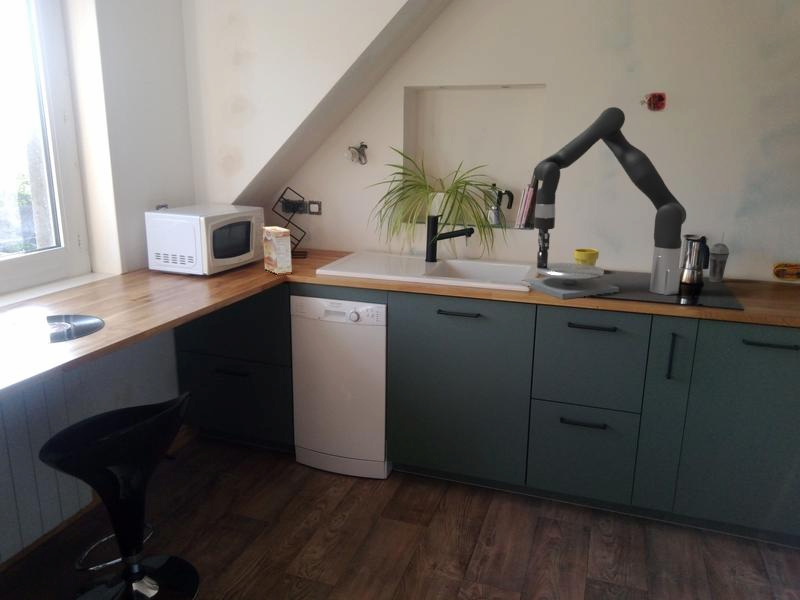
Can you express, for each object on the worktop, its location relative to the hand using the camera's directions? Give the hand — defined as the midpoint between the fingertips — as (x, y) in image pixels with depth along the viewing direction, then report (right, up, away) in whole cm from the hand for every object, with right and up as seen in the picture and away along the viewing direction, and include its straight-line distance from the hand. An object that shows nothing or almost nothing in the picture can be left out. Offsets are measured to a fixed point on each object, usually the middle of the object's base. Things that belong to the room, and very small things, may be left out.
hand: (542, 258), depth 233 cm
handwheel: (+10, -6, 0) cm, 12 cm away
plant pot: (+26, -4, +33) cm, 42 cm away
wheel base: (+10, -12, +2) cm, 16 cm away
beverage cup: (+74, -9, +15) cm, 76 cm away
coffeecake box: (-109, -4, +33) cm, 114 cm away
